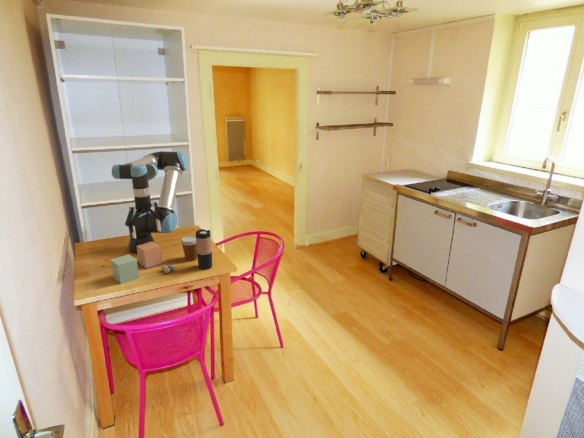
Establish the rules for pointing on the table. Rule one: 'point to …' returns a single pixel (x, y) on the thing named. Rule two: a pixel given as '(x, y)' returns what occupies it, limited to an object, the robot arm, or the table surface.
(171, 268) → the marble blue
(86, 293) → the table surface
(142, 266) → the coaster
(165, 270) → the marble amber
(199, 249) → the travel mug
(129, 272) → the rounded sage cube
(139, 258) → the dusty pink cube
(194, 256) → the disposable coffee cup
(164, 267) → the marble grey
